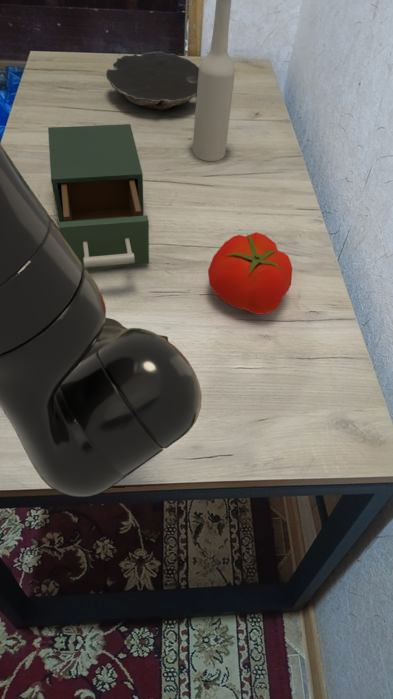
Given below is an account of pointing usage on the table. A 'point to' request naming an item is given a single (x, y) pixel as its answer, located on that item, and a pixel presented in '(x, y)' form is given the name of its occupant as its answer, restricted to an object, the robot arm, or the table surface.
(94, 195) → the drawer
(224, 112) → the bottle
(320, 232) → the table surface
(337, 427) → the table surface
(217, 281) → the tomato
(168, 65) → the rough clay dish
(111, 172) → the cabinet
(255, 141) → the table surface
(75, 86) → the table surface
